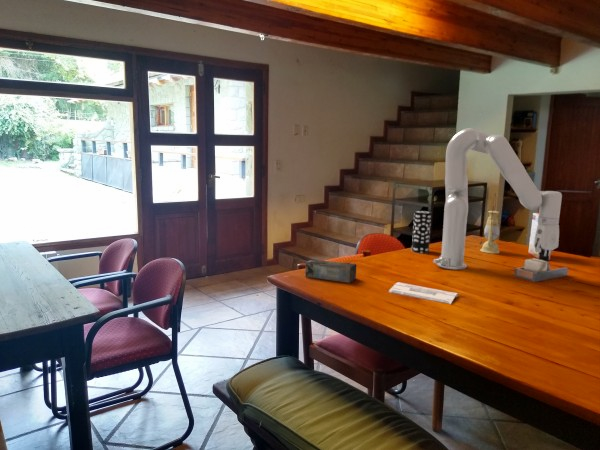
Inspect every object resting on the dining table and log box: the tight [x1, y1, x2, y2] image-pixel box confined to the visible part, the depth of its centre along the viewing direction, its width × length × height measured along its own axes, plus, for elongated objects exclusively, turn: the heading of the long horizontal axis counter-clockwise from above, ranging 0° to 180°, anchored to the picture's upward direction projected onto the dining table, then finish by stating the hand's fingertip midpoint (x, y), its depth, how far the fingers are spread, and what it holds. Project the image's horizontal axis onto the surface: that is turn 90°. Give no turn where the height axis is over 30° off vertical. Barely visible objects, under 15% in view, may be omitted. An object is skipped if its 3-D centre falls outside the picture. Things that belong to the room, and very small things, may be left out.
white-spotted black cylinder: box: [411, 210, 432, 254], centre depth 228 cm, size 8×8×20 cm
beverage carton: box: [304, 259, 357, 284], centre depth 180 cm, size 8×19×7 cm, turn 66°
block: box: [523, 257, 549, 273], centre depth 187 cm, size 6×6×6 cm
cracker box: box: [527, 212, 552, 261], centre depth 222 cm, size 14×6×21 cm, turn 171°
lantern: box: [479, 193, 500, 255], centre depth 230 cm, size 12×10×30 cm
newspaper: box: [388, 281, 459, 305], centre depth 163 cm, size 23×12×2 cm, turn 59°
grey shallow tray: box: [513, 262, 569, 283], centre depth 189 cm, size 22×9×3 cm, turn 119°
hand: (543, 264), depth 189 cm, fingers closed
